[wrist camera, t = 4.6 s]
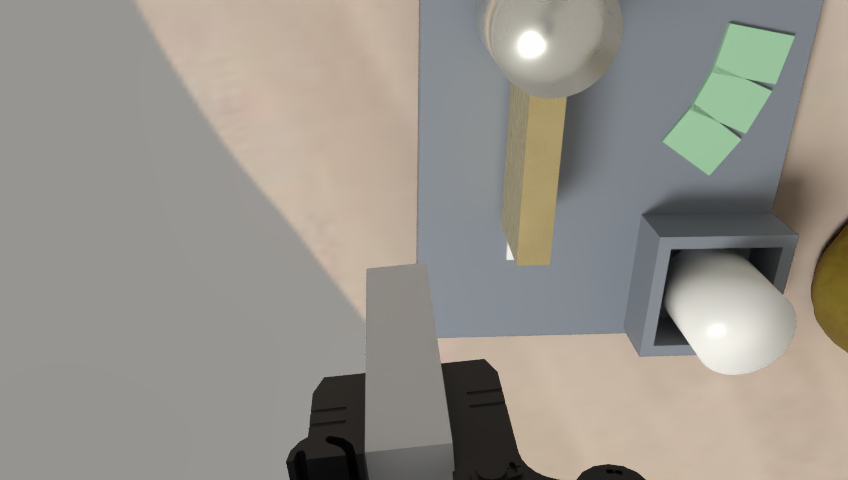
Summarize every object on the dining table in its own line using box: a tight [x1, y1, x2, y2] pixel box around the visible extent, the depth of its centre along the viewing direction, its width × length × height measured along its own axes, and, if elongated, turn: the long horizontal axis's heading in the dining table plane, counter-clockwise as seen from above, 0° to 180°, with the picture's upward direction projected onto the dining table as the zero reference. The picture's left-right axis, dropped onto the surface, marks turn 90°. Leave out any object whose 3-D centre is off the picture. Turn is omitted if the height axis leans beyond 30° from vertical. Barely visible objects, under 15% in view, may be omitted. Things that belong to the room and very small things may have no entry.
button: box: [661, 248, 796, 375], centre depth 33 cm, size 4×4×4 cm
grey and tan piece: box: [475, 0, 623, 266], centre depth 29 cm, size 12×5×5 cm, turn 179°
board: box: [417, 0, 823, 357], centre depth 32 cm, size 24×17×4 cm
